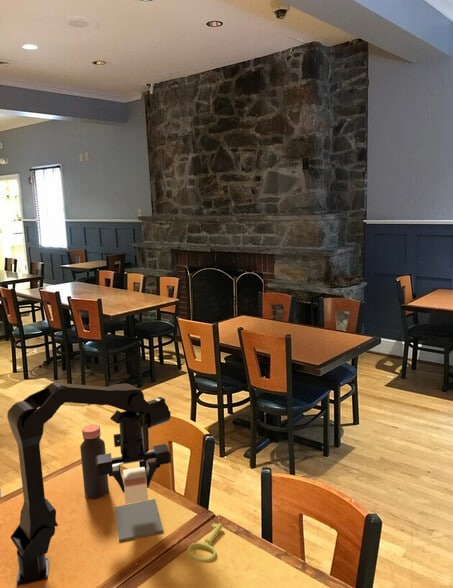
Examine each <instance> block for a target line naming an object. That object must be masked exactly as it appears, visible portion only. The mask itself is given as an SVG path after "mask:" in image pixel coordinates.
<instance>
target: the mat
mask: <svg viewBox="0 0 453 588" xmlns="http://www.w3.org/2000/svg"><path fill="white" fill-rule="evenodd" d="M114 510H115V511H114V512H115V519H116V527H117V534H118V542H119V543H120V542H125V541H128V540H133V539H138V538H139V539H140V538H142V537H143V538H144V537H147V536H151V535H152V536H153V535H156V534H161V533H164V528H163V524H162V521H161V516H160V513H159V509H158V505H157V501H156V499H155V498H152V499H148V500H147V501H141V502H135V503H129V504H122V505H118V506H114Z"/></svg>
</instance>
